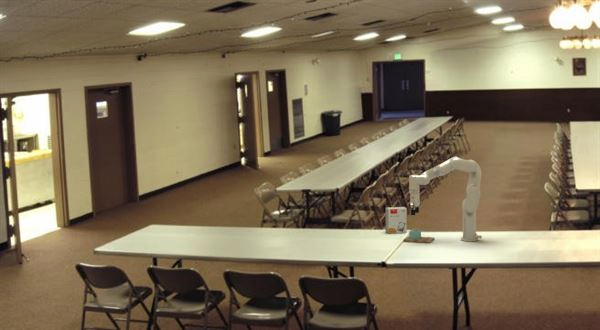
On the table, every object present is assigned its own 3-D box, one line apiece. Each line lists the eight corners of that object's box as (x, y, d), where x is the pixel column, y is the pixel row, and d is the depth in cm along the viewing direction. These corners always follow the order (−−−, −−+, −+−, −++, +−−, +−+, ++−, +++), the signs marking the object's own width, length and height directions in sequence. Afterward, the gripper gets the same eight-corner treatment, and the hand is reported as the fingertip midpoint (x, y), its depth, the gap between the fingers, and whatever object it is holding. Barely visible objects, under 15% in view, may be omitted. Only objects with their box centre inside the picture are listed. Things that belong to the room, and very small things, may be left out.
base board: (434, 239, 539) (434, 232, 538) (429, 243, 526) (429, 236, 526) (408, 237, 547) (408, 230, 547) (403, 241, 535) (403, 234, 534)
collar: (421, 237, 540) (420, 229, 539) (418, 239, 533) (418, 231, 533) (412, 237, 543) (411, 229, 542) (409, 239, 536) (409, 231, 536)
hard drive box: (387, 234, 563) (387, 209, 561) (385, 232, 571) (385, 207, 569) (407, 232, 565) (406, 208, 563) (404, 230, 573) (404, 206, 571)
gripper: (416, 193, 524) (416, 216, 527) (422, 189, 540) (422, 212, 542) (406, 193, 528) (406, 215, 530) (412, 189, 543) (413, 211, 545)
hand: (414, 213), depth 536 cm, fingers open, 9 cm apart
